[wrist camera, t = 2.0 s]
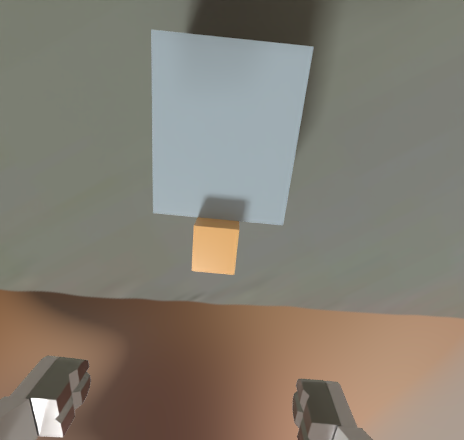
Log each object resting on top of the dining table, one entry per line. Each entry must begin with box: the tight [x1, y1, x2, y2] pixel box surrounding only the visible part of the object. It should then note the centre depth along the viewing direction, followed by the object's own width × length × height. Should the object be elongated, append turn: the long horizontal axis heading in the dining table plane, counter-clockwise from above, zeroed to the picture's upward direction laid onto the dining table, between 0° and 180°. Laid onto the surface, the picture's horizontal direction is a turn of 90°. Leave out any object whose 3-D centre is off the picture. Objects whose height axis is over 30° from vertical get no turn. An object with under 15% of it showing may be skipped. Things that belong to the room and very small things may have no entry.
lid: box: [151, 30, 314, 275], centre depth 20 cm, size 17×11×4 cm, turn 175°
